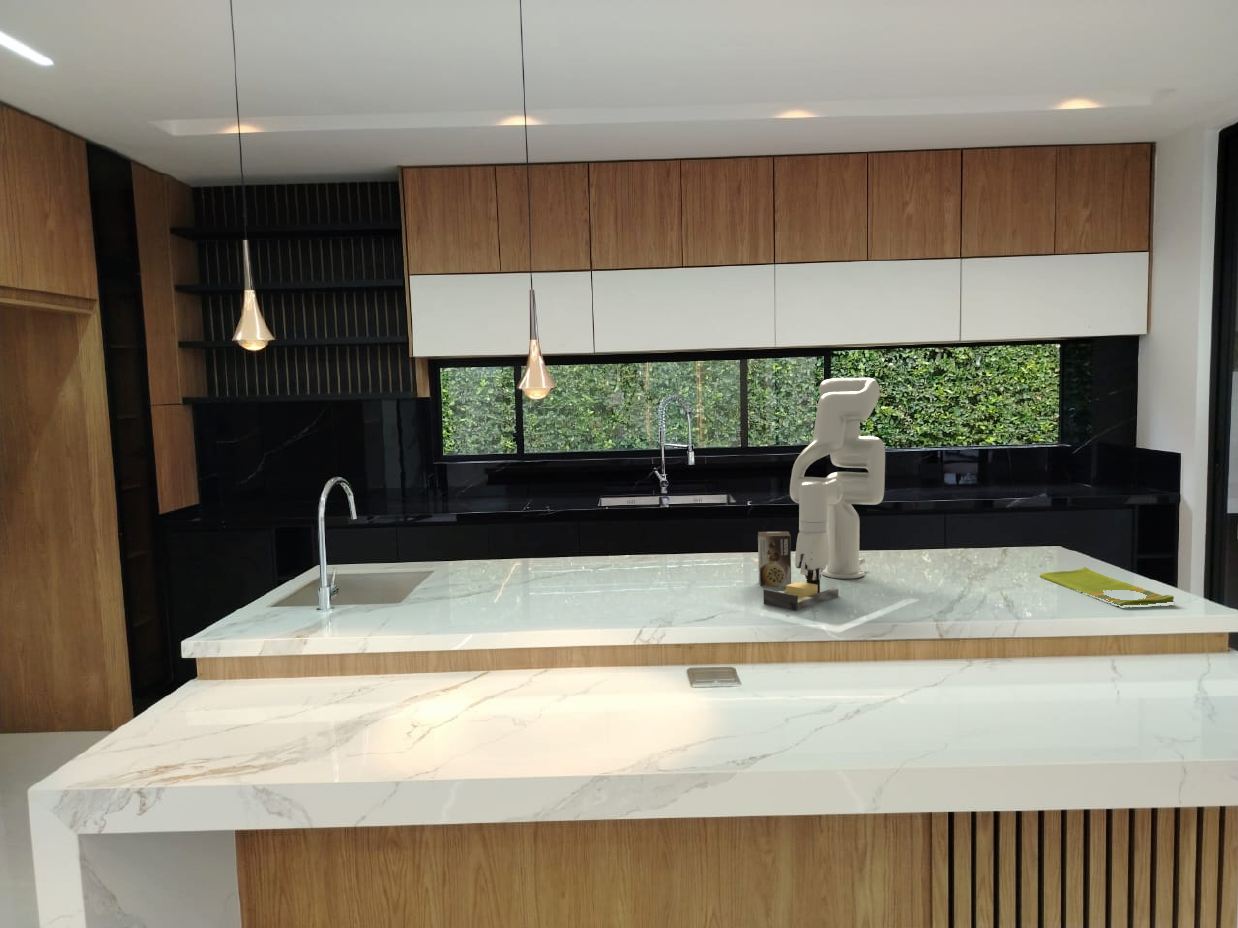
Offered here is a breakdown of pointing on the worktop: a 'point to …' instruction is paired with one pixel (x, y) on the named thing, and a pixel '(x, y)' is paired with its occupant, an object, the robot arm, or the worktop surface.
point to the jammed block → (802, 589)
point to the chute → (796, 599)
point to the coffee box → (774, 558)
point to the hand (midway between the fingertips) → (813, 593)
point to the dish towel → (1102, 586)
